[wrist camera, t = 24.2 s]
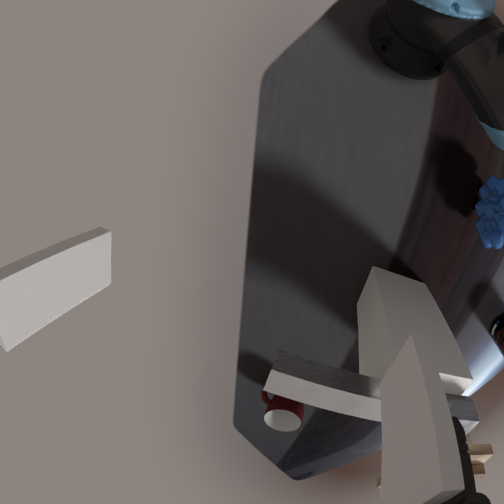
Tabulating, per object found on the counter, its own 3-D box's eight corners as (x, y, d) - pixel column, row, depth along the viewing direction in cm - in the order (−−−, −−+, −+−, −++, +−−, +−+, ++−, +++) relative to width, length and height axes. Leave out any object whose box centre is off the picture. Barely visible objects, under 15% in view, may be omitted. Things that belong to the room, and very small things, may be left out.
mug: (260, 387, 63) (247, 417, 54) (274, 367, 60) (262, 398, 51) (298, 405, 62) (290, 435, 52) (315, 386, 58) (308, 419, 49)
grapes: (487, 242, 38) (518, 265, 28) (460, 233, 40) (489, 255, 29) (501, 181, 34) (537, 190, 23) (474, 169, 36) (509, 175, 25)
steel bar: (278, 349, 26) (268, 376, 23) (471, 397, 22) (479, 421, 18) (270, 370, 27) (260, 397, 24) (457, 413, 23) (463, 438, 19)
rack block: (372, 265, 47) (394, 361, 23) (424, 283, 45) (473, 379, 21) (356, 304, 50) (358, 412, 26) (407, 319, 48) (434, 425, 24)
